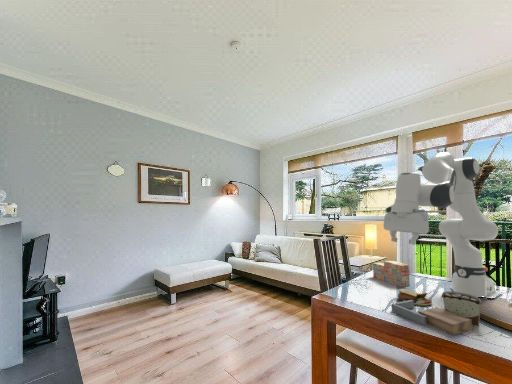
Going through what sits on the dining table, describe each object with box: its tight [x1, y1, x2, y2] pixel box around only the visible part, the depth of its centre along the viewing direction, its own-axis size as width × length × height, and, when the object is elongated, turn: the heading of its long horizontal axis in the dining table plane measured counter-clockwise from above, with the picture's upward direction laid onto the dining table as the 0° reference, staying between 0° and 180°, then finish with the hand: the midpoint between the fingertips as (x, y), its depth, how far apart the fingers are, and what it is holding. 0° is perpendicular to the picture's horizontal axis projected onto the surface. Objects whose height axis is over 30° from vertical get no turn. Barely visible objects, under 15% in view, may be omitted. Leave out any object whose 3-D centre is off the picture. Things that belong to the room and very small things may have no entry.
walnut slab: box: [417, 306, 473, 336], centre depth 91 cm, size 11×12×4 cm
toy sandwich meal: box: [397, 288, 433, 307], centre depth 115 cm, size 12×14×5 cm
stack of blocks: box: [372, 260, 410, 288], centre depth 149 cm, size 21×6×12 cm, turn 18°
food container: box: [440, 291, 484, 328], centre depth 95 cm, size 12×6×10 cm, turn 48°
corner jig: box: [391, 300, 428, 326], centre depth 100 cm, size 12×14×3 cm
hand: (402, 243), depth 99 cm, fingers open, 8 cm apart
